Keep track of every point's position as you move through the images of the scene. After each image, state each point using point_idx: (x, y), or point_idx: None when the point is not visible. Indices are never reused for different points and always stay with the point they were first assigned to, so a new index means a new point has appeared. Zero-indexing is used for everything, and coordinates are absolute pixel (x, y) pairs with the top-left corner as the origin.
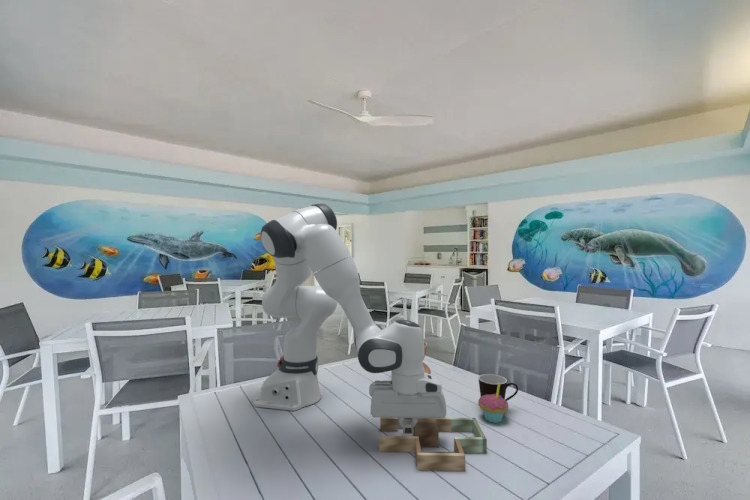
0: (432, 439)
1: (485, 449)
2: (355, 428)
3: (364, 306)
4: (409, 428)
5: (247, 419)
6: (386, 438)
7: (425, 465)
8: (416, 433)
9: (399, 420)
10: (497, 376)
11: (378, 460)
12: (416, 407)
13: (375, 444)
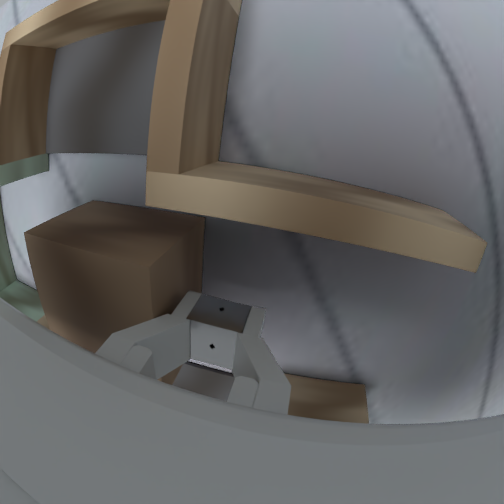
0: (90, 217)
1: None
2: (448, 398)
3: None
4: (204, 320)
5: None
6: (443, 227)
7: None
8: (157, 250)
9: (283, 392)
10: None
11: (462, 127)
12: (18, 433)
13: (436, 285)
